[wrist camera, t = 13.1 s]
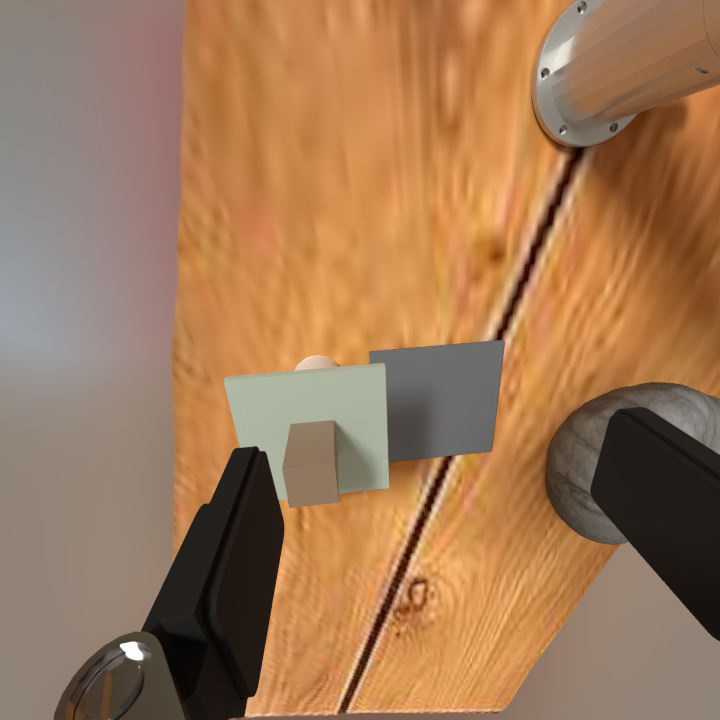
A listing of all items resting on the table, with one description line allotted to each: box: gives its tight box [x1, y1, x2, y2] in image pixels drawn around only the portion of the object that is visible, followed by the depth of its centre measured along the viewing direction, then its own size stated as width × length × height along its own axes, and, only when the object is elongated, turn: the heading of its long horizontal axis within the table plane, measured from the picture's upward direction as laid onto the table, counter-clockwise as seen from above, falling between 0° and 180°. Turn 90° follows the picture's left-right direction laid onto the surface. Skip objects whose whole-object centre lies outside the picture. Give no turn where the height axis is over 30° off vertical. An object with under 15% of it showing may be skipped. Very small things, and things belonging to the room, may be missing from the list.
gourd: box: [545, 382, 720, 545], centre depth 45 cm, size 25×25×17 cm
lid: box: [224, 363, 389, 508], centre depth 29 cm, size 14×14×7 cm
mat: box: [369, 340, 505, 462], centre depth 47 cm, size 18×18×1 cm
